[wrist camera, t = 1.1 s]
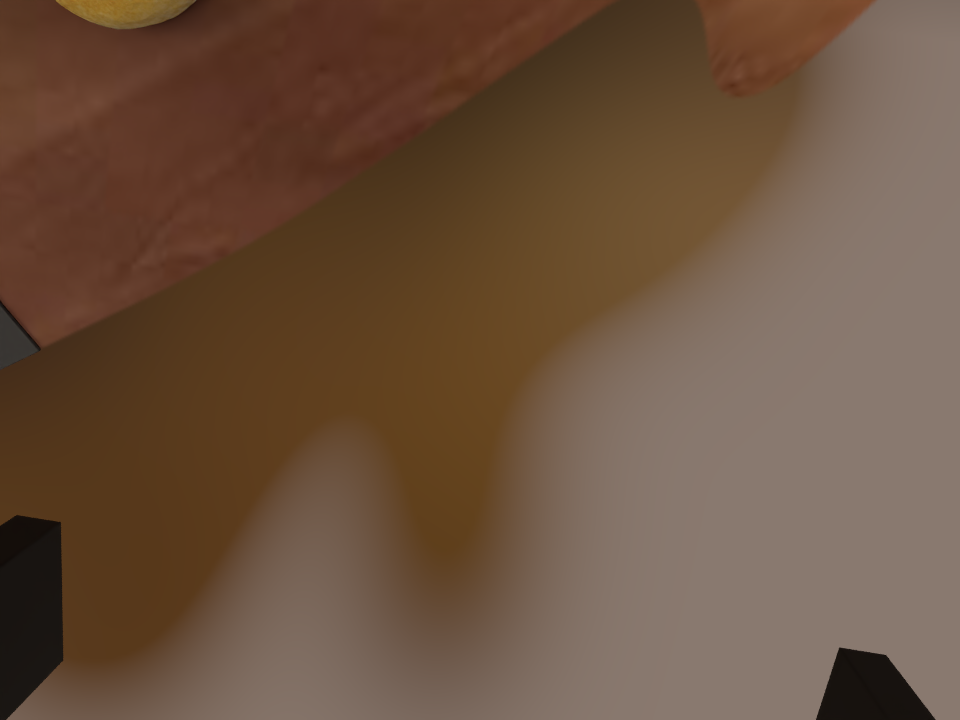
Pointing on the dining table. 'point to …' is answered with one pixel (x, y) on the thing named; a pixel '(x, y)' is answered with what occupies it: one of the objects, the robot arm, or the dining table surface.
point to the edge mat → (13, 340)
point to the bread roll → (126, 11)
